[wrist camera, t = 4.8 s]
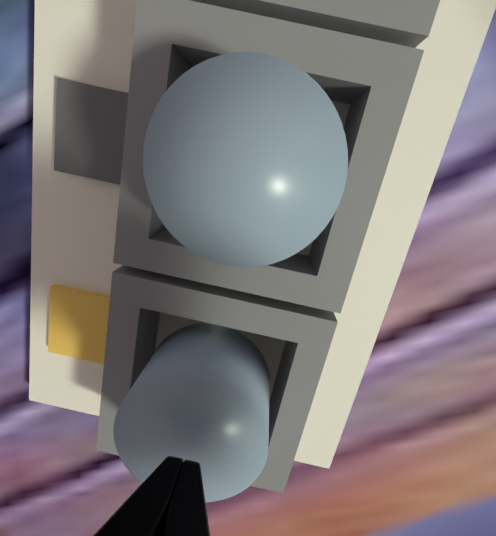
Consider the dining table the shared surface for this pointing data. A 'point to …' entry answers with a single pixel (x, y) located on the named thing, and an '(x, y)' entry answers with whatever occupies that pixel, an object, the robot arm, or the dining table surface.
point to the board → (192, 265)
